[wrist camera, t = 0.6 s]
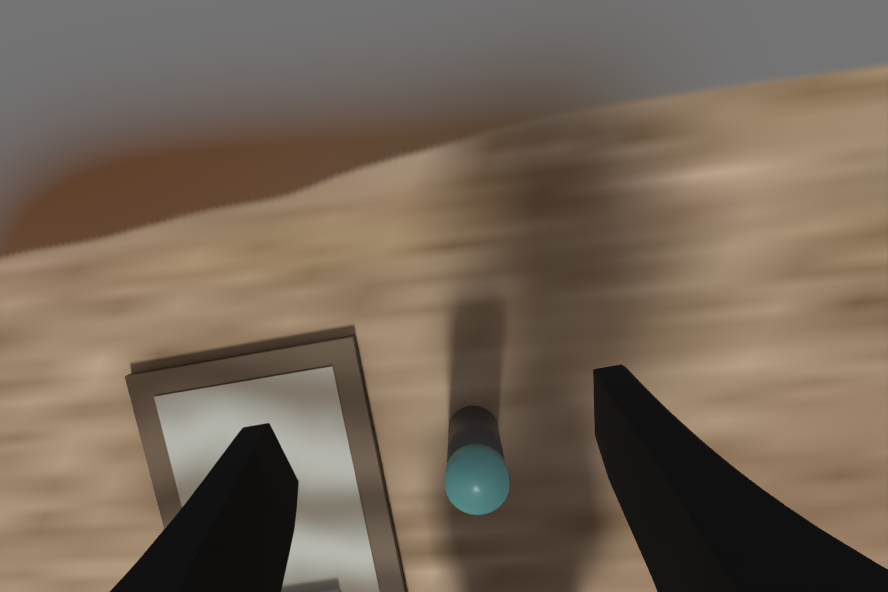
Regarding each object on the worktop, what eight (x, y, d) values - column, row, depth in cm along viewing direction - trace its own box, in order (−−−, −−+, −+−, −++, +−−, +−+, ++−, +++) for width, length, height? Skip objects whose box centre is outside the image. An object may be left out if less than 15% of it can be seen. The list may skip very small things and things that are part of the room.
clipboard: (409, 607, 34) (407, 624, 33) (199, 638, 35) (187, 656, 33) (354, 335, 32) (349, 340, 31) (130, 373, 33) (115, 380, 31)
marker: (502, 449, 33) (514, 509, 26) (452, 457, 33) (451, 519, 26) (494, 401, 32) (504, 449, 25) (443, 409, 33) (439, 459, 26)
